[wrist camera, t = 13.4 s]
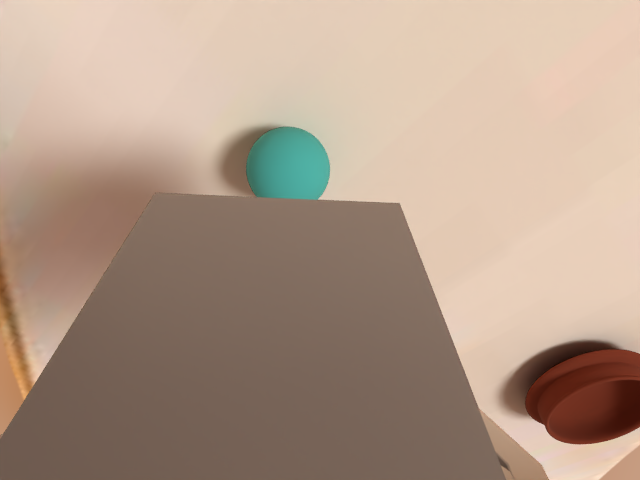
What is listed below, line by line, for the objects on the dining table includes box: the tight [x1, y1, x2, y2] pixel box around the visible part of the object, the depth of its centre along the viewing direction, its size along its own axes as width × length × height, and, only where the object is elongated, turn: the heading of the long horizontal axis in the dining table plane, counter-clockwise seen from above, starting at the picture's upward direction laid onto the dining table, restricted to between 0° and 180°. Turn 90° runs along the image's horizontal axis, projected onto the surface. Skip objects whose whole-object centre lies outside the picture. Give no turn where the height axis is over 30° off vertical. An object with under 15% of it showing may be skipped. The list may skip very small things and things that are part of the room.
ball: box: [246, 127, 330, 200], centre depth 24 cm, size 5×5×5 cm
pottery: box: [525, 349, 640, 444], centre depth 39 cm, size 12×20×4 cm, turn 79°
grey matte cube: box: [0, 193, 506, 480], centre depth 11 cm, size 7×7×9 cm
